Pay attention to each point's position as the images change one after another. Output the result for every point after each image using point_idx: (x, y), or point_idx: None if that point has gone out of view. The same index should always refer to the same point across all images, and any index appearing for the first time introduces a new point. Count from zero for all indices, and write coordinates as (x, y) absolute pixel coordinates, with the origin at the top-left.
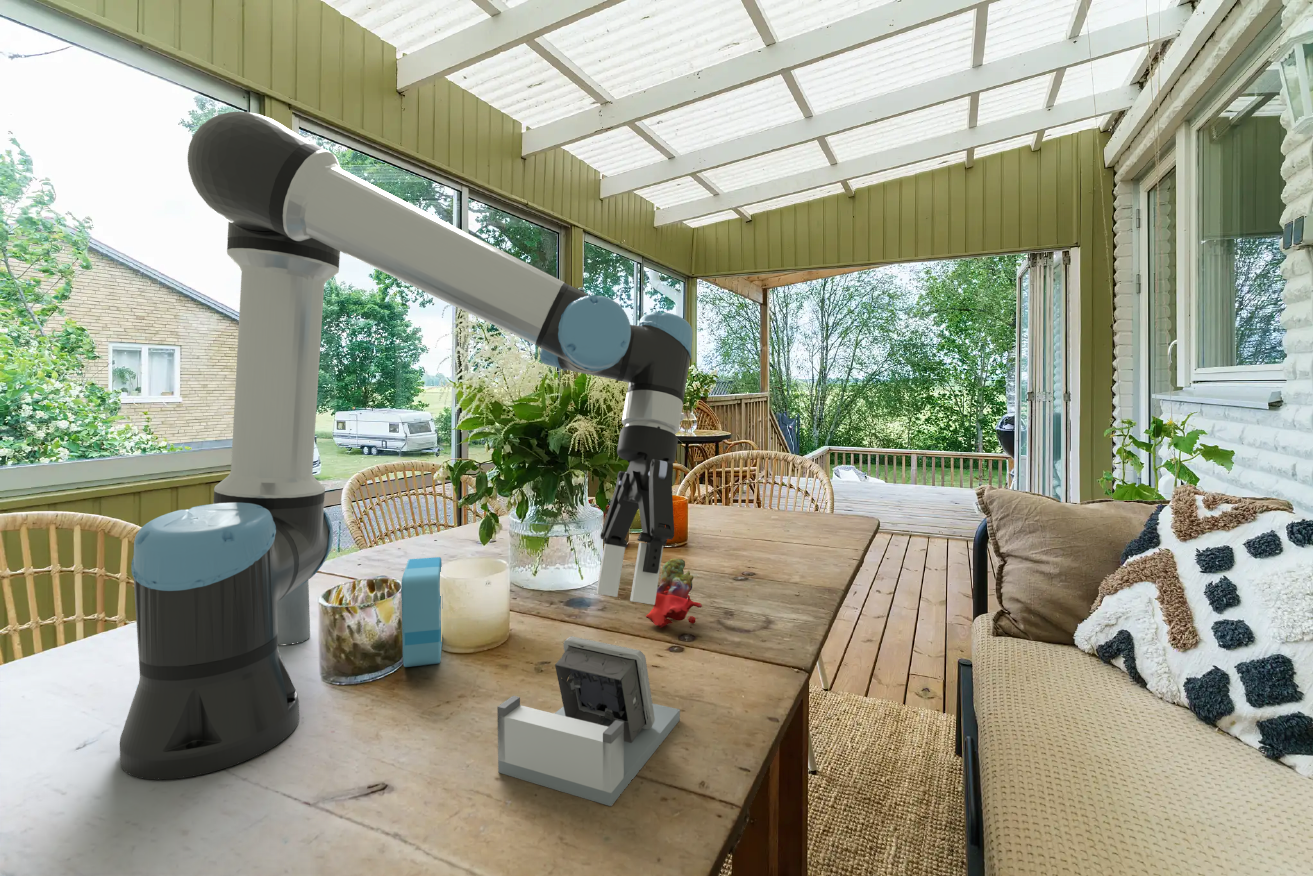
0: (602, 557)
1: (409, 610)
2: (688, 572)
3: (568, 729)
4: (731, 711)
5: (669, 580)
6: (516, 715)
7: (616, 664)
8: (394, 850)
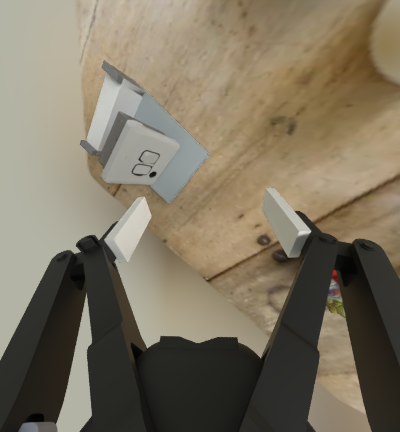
0: (295, 214)
1: None
2: (343, 315)
3: (95, 121)
4: (174, 228)
5: None
6: (108, 81)
7: (107, 161)
8: (85, 21)
